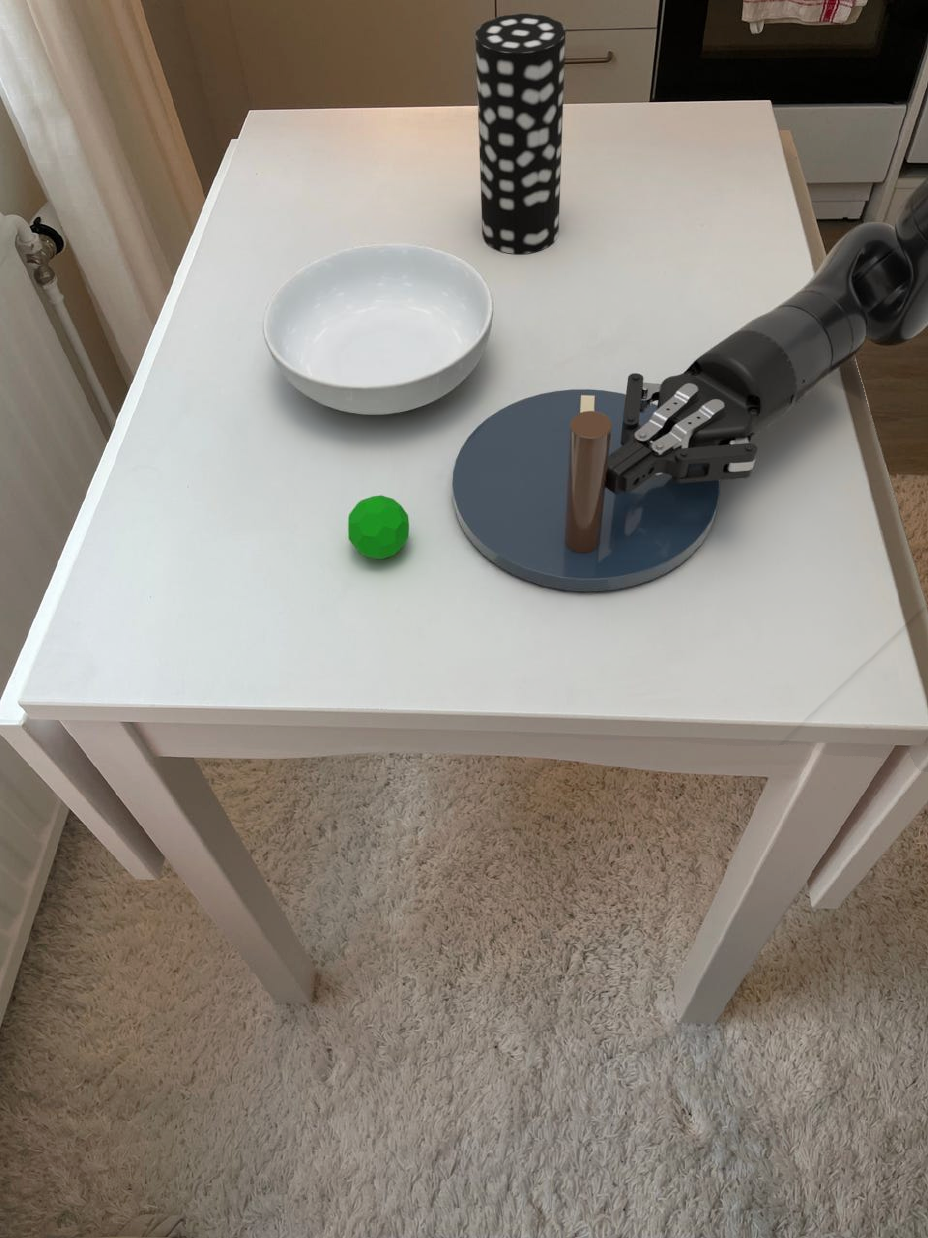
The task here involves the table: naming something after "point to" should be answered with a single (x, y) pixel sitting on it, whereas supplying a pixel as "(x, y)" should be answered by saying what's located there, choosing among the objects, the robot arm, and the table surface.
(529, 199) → the spotted tube
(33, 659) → the table surface
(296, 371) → the serving bowl
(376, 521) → the polyhedron
